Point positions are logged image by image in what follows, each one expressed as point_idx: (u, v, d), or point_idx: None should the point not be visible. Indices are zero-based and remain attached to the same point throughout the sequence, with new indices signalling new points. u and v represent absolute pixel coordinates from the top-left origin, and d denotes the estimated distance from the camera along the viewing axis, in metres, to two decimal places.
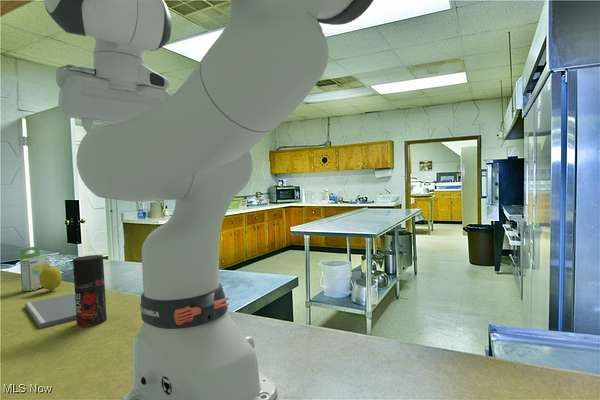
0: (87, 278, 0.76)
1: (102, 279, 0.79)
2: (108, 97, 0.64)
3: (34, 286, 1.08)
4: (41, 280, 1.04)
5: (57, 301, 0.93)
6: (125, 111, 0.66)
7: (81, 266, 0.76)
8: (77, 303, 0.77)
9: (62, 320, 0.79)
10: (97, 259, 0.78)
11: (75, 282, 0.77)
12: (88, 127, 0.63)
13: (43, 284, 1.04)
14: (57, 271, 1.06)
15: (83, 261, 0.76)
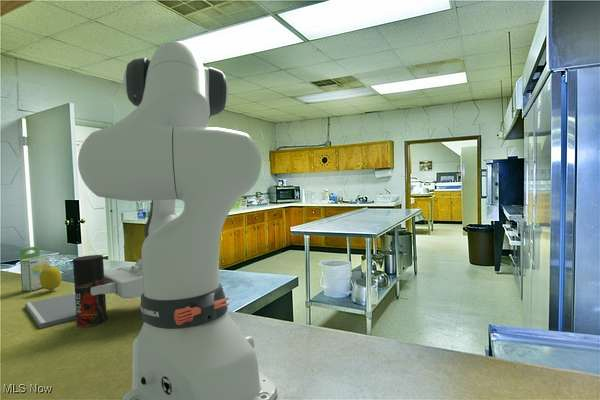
0: (87, 277, 0.76)
1: (102, 279, 0.79)
2: (122, 272, 0.86)
3: (34, 286, 1.08)
4: (41, 280, 1.04)
5: (57, 301, 0.93)
6: (116, 274, 0.83)
7: (81, 266, 0.76)
8: (77, 303, 0.77)
9: (62, 320, 0.79)
10: (97, 259, 0.78)
11: (75, 282, 0.77)
12: None
13: (43, 284, 1.04)
14: (57, 271, 1.06)
15: (83, 261, 0.76)
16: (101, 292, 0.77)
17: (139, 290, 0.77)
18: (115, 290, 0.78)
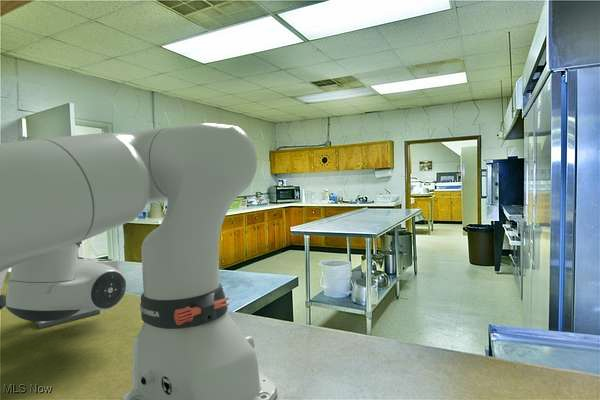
0: None
1: None
2: None
3: None
4: None
5: None
6: None
7: None
8: None
9: (62, 320, 0.79)
10: None
11: None
12: None
13: None
14: None
15: None
16: None
17: None
18: None
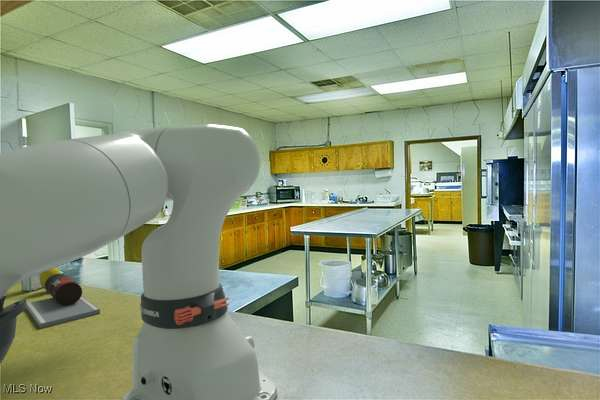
0: (63, 275, 0.97)
1: None
2: None
3: (34, 286, 1.08)
4: (41, 280, 1.04)
5: None
6: None
7: (56, 274, 0.98)
8: (55, 283, 0.91)
9: (62, 320, 0.79)
10: None
11: (51, 281, 0.94)
12: None
13: (43, 284, 1.04)
14: (57, 271, 1.06)
15: (57, 274, 0.99)
16: None
17: None
18: None
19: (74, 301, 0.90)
